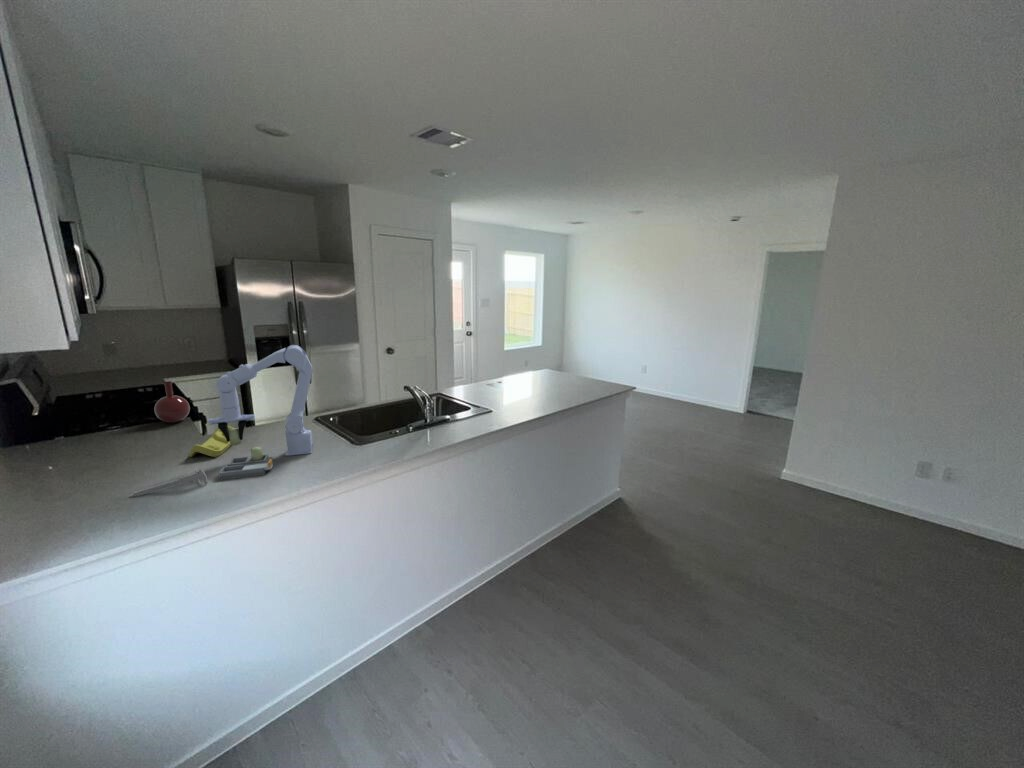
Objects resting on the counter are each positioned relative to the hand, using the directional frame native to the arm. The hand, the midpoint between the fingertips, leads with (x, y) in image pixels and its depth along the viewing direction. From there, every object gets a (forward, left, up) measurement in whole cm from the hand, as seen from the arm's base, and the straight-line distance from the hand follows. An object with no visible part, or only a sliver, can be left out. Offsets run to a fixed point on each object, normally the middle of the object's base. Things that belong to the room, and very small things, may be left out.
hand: (235, 439), depth 154 cm
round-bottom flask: (+40, -57, -9) cm, 71 cm away
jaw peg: (0, 0, -2) cm, 2 cm away
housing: (-5, +10, -8) cm, 14 cm away
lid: (-10, +14, -7) cm, 18 cm away
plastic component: (+11, -15, -9) cm, 20 cm away
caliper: (+14, +21, -9) cm, 27 cm away
